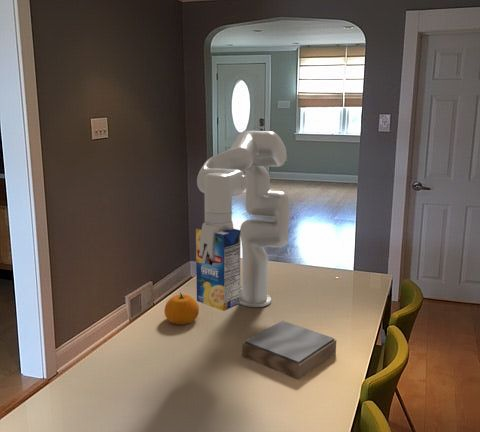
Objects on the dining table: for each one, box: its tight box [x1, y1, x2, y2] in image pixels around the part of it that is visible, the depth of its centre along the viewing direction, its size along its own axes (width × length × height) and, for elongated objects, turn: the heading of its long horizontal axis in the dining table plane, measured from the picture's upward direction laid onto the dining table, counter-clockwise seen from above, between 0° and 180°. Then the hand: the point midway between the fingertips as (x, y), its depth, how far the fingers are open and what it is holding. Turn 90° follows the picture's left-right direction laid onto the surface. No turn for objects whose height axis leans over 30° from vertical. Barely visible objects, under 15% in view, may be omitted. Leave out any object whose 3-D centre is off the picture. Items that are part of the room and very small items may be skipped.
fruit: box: [164, 292, 200, 325], centre depth 176 cm, size 12×12×10 cm
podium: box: [241, 320, 337, 381], centre depth 153 cm, size 20×20×5 cm
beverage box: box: [195, 226, 242, 312], centre depth 147 cm, size 7×11×22 cm, turn 49°
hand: (218, 279), depth 148 cm, fingers closed on beverage box
